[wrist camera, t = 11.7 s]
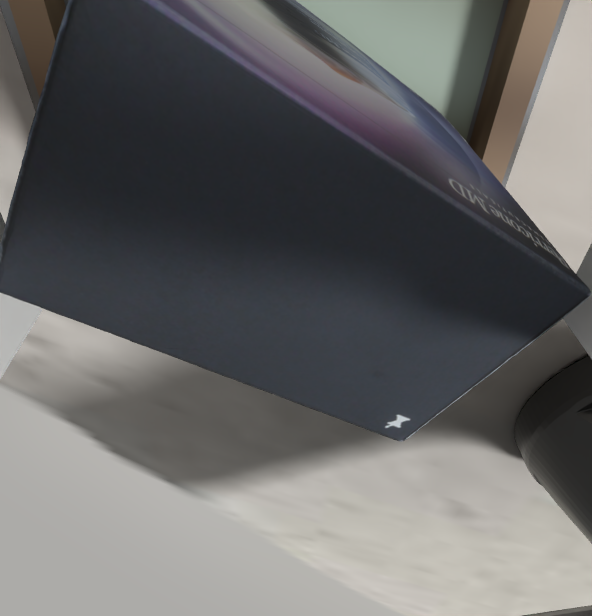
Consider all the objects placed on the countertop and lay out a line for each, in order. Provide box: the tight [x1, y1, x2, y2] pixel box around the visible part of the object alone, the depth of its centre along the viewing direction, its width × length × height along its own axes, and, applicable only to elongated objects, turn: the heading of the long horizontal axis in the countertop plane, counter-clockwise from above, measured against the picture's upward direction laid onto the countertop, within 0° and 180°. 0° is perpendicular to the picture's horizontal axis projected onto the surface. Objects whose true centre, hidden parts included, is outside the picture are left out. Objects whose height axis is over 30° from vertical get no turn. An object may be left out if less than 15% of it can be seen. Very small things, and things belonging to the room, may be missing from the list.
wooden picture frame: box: [0, 0, 570, 188], centre depth 17 cm, size 18×18×2 cm
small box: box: [0, 0, 591, 441], centre depth 13 cm, size 11×6×10 cm, turn 57°
